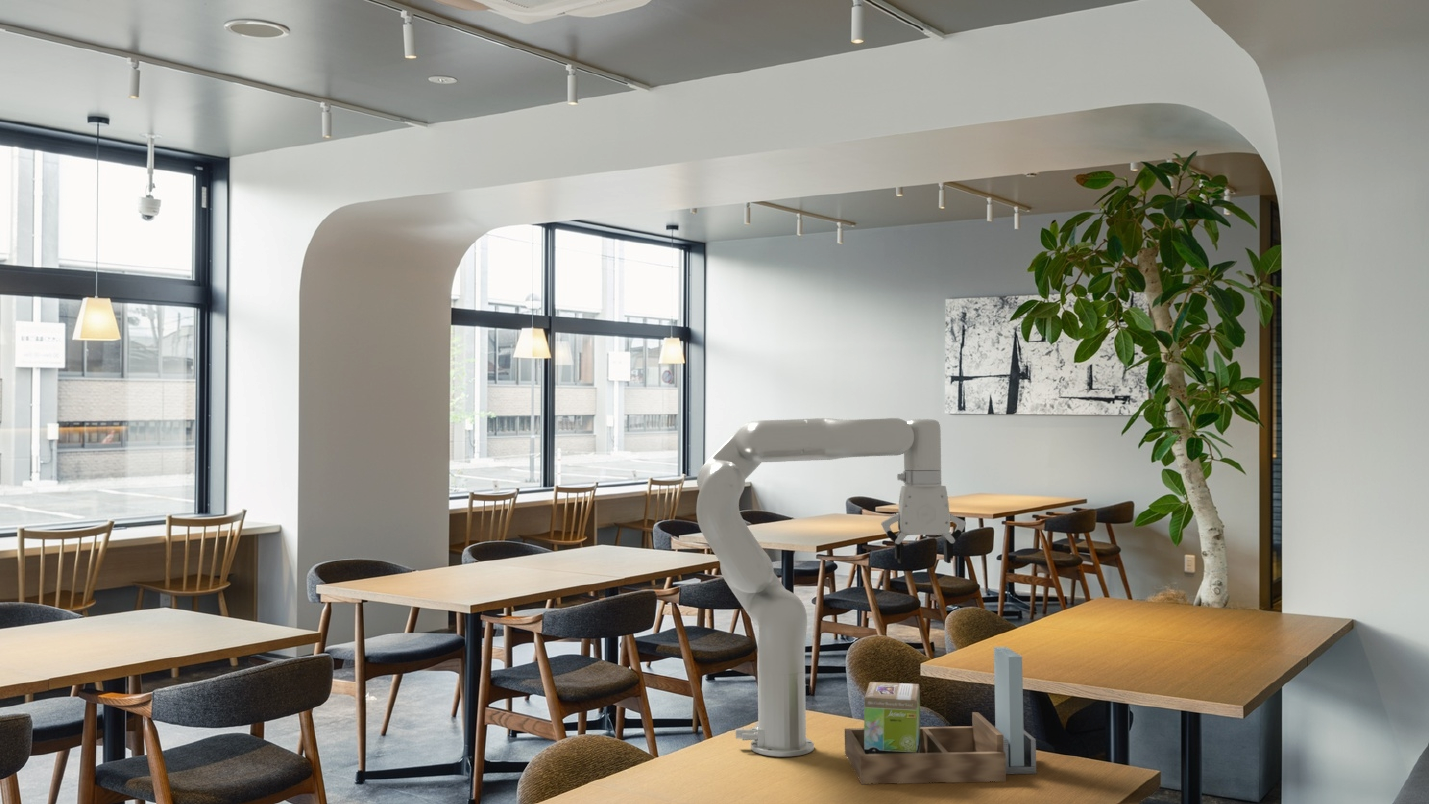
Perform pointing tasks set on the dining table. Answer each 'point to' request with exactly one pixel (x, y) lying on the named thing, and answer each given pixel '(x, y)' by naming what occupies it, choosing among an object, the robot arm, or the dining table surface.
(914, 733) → the tea box
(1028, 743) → the stand
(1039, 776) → the dining table surface
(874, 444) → the robot arm
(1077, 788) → the dining table surface
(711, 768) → the dining table surface
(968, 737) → the divided tray
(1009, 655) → the rectangular block
